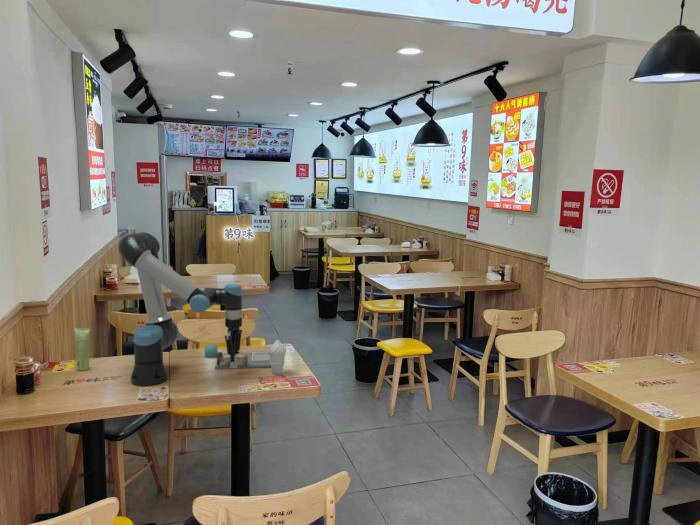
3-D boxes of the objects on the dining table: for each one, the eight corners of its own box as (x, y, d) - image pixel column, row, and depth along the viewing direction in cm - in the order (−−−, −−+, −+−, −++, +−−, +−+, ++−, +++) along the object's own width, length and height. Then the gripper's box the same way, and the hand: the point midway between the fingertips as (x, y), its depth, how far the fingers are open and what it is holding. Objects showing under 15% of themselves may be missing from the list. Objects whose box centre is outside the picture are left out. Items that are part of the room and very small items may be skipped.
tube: (89, 366, 244) (87, 326, 241) (92, 369, 240) (90, 328, 237) (75, 368, 240) (74, 327, 237) (78, 371, 236) (76, 330, 234)
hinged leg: (216, 365, 245) (216, 353, 244) (217, 363, 248) (217, 351, 247) (247, 365, 247) (247, 353, 246) (247, 362, 250) (247, 351, 249)
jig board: (215, 369, 245) (215, 365, 244) (219, 355, 264) (219, 352, 264) (279, 367, 249) (279, 363, 249) (278, 354, 269) (278, 351, 268)
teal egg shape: (203, 358, 260) (203, 347, 259) (205, 354, 266) (205, 344, 265) (216, 358, 261) (216, 347, 260) (218, 354, 267) (218, 343, 266)
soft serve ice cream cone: (284, 376, 237) (285, 343, 235) (266, 376, 237) (266, 342, 235) (287, 370, 245) (287, 338, 243) (269, 370, 245) (270, 337, 243)
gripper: (234, 321, 229) (234, 373, 232) (247, 315, 241) (247, 364, 245) (219, 320, 231) (219, 371, 234) (232, 314, 243) (233, 362, 246)
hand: (233, 367), depth 239 cm, fingers closed
